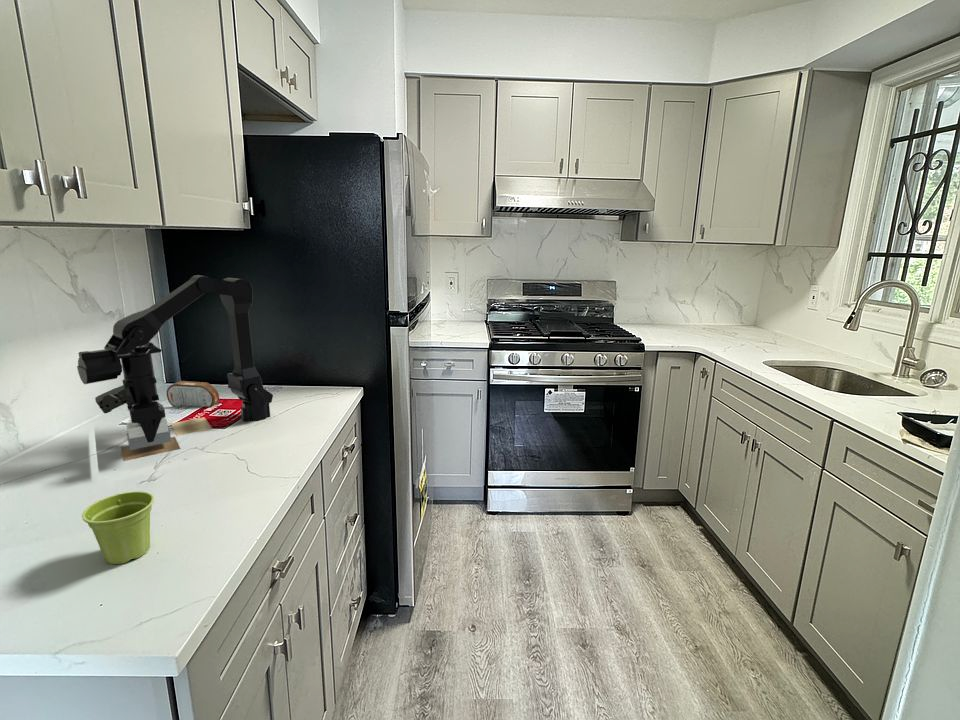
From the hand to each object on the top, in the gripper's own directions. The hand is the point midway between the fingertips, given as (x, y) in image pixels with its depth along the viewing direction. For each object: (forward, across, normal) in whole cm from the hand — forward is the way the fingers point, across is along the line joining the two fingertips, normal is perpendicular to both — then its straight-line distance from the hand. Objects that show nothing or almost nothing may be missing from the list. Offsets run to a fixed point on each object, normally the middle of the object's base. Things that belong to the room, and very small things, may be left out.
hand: (149, 438), depth 116 cm
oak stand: (+4, -10, +10) cm, 15 cm away
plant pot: (+4, +42, -8) cm, 42 cm away
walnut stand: (+4, 0, 0) cm, 4 cm away
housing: (+1, 0, 0) cm, 1 cm away
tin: (+4, -28, +14) cm, 32 cm away
